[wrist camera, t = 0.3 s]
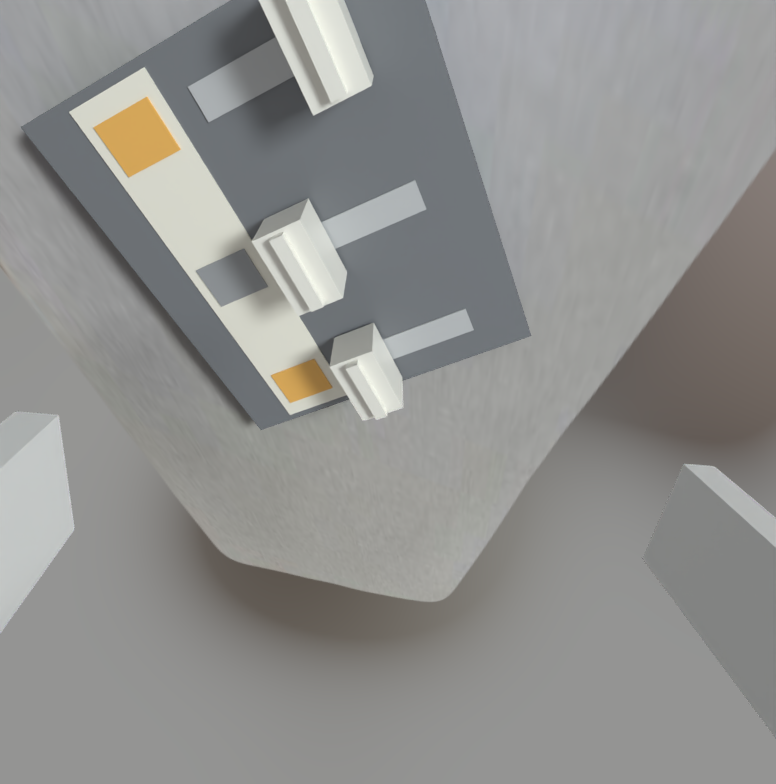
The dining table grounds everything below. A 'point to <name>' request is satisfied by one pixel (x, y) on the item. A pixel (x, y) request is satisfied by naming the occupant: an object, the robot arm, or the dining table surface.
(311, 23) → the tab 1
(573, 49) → the dining table surface
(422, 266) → the switch bank
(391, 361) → the white plastic block
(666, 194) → the dining table surface
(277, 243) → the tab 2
